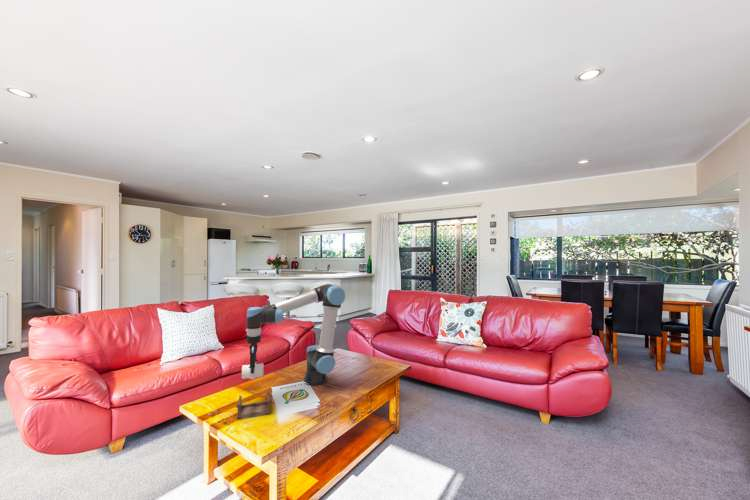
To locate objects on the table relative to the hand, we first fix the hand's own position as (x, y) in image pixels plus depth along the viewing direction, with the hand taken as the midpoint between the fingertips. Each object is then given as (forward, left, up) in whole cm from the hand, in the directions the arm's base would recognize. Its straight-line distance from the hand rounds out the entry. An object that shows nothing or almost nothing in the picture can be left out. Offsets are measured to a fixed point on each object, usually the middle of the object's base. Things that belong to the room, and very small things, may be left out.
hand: (253, 376), depth 178 cm
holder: (-1, +10, -15) cm, 18 cm away
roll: (0, 0, +3) cm, 3 cm away
